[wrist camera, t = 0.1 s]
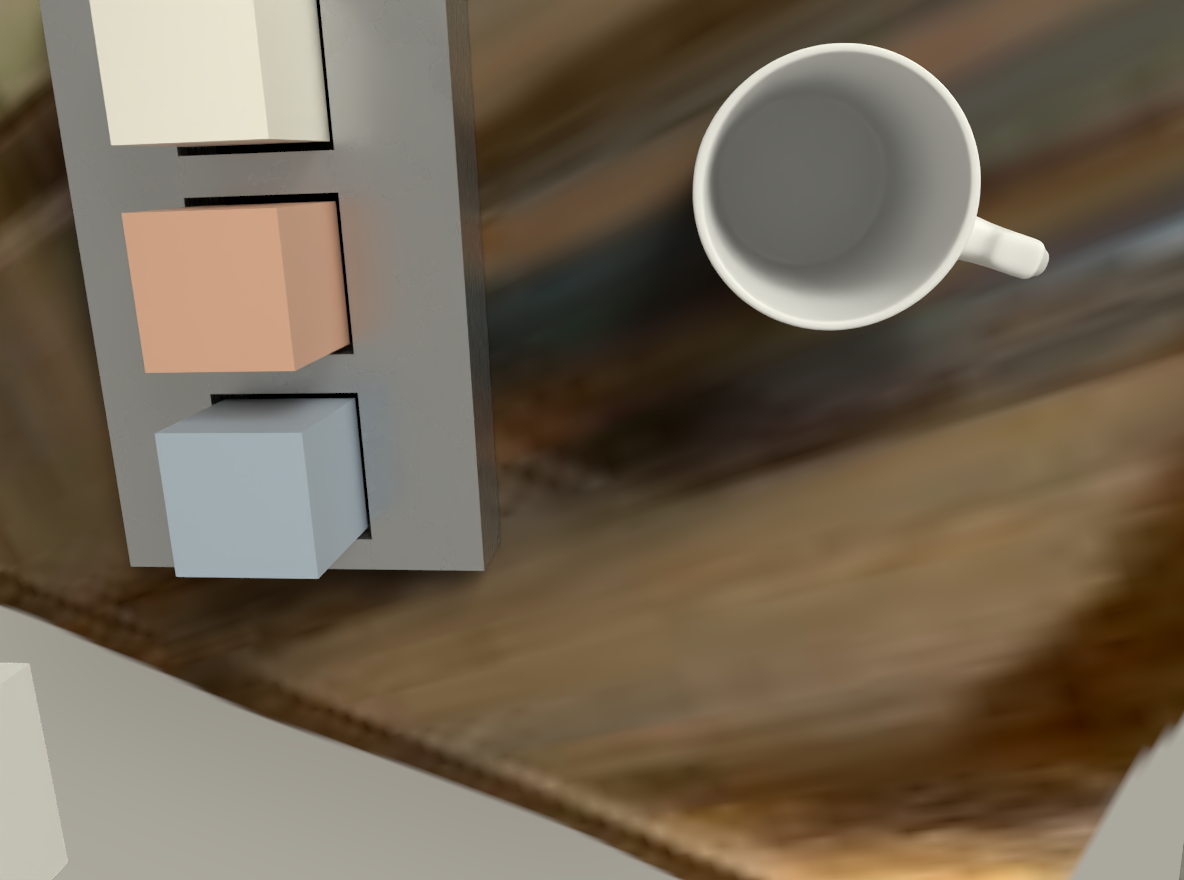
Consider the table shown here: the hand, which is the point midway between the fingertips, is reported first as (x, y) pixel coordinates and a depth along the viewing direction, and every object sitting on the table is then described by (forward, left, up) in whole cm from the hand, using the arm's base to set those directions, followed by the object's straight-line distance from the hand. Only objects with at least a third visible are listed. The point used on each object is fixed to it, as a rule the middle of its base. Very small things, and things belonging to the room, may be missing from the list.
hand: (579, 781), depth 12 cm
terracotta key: (-3, -14, -25) cm, 29 cm away
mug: (-5, +6, -28) cm, 29 cm away
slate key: (+4, -14, -25) cm, 29 cm away
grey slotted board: (-3, -14, -28) cm, 31 cm away
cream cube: (-10, -14, -25) cm, 31 cm away
